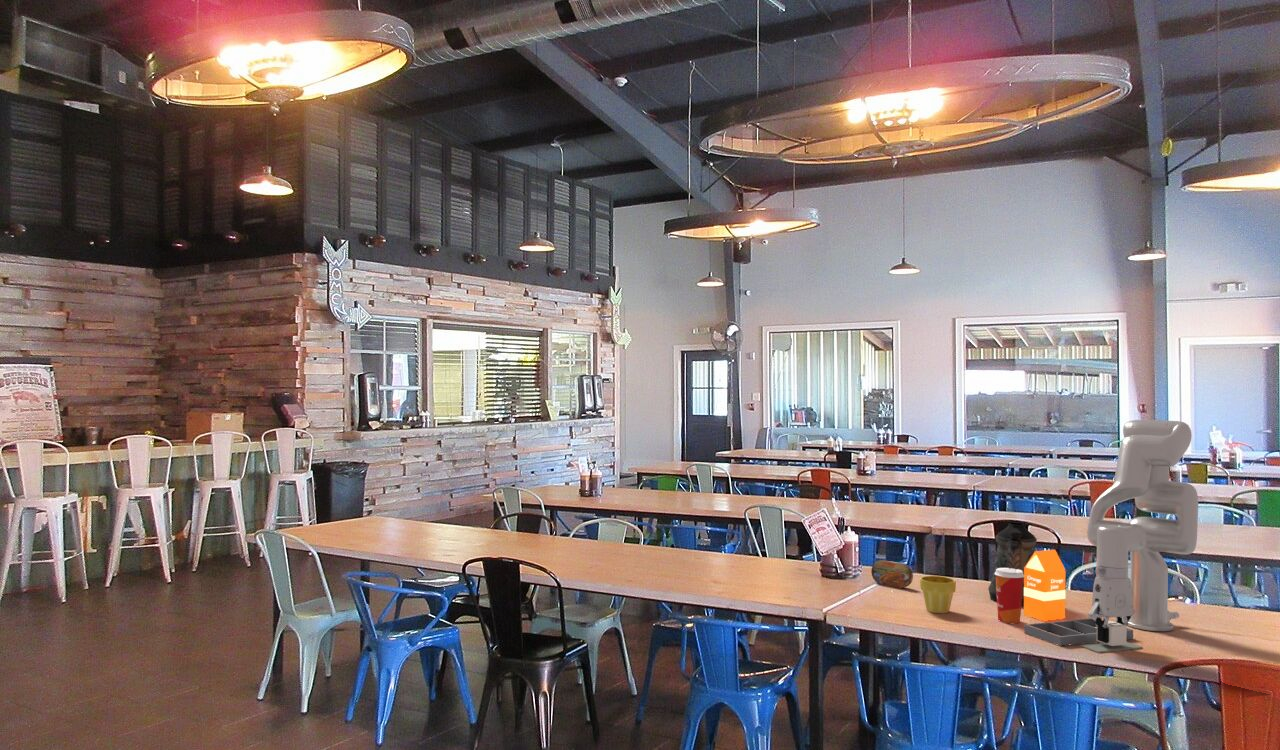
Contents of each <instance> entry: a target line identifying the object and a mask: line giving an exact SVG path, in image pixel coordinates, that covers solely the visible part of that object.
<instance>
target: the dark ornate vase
mask: <svg viewBox="0 0 1280 750" xmlns="http://www.w3.org/2000/svg"><path fill="white" fill-rule="evenodd" d="M995 541H996V543H997V549H996V553H995V554H996V555H995V560H994V568H993V573H992V577H991V581H990V584H989V586H988V589H987V590H988V593H989V598H990V600H991V601H992V602H994V603H997V591H996V575H995V574H994V573H995V572H996V569H997V568H1010V569H1011V568H1013V569H1016V570H1017V569H1019V570H1022V571H1023V575H1024V567H1025V566H1026V565H1027V563H1028V562H1029V560H1030V559H1031V557H1032V556H1033V554H1034V553H1035V551H1036V549H1035V547H1036V544H1037V541H1038V539H1037V537H1036V536H1035V535H1034V534H1033V533H1032V532H1031V531H1030V530H1028V529H1027V528H1026V527H1025V525H1024V523H1022V522H1009V523H1008V525H1007V526H1006V527H1005V528H1004V529H1002V530H1001V531H999V532H998V533H996V535H995ZM1016 570H1015V571H1016ZM1021 607H1024V577H1023V588H1022V602H1021Z"/></svg>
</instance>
